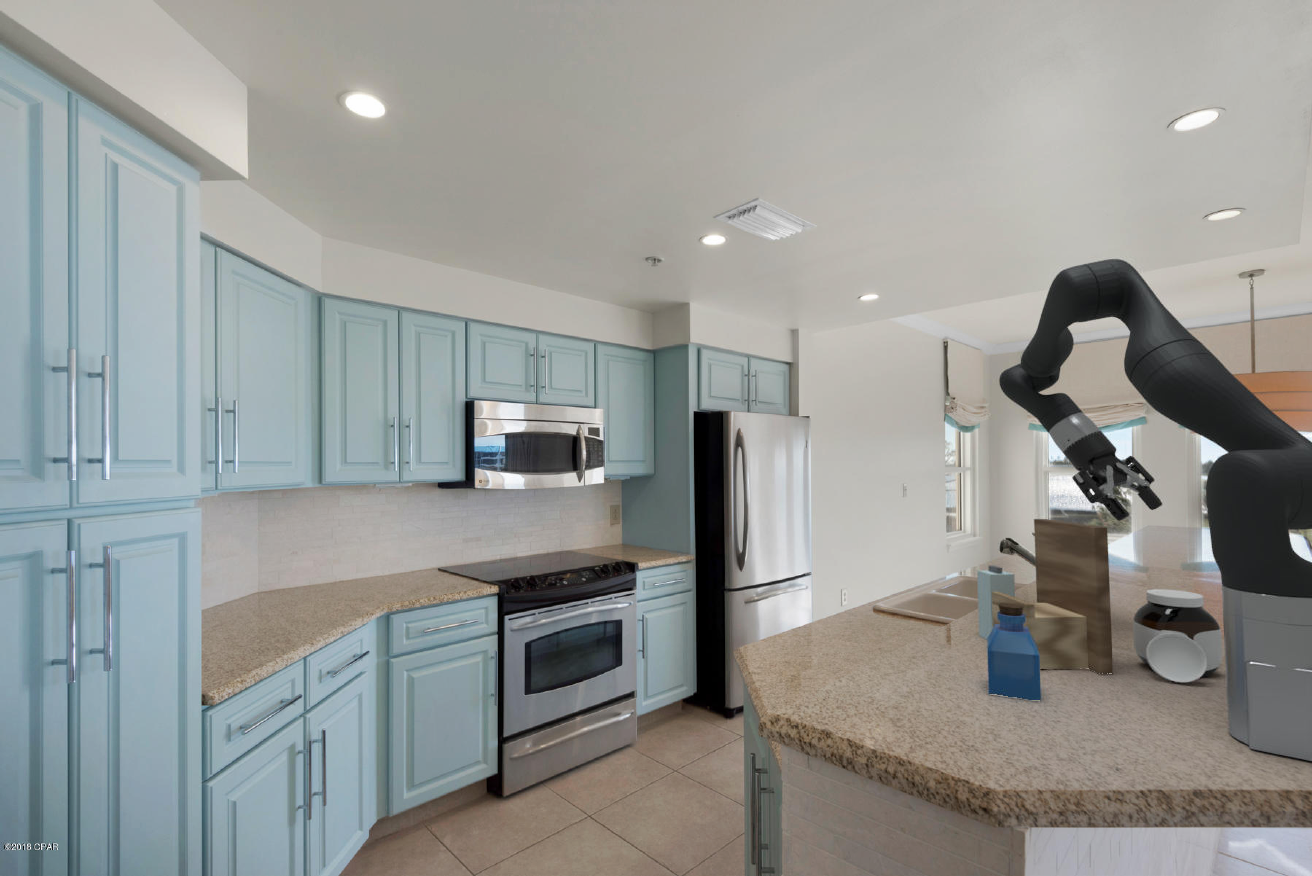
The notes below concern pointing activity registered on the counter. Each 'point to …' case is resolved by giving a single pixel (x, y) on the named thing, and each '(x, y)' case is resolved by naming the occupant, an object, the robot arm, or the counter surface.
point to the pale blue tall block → (986, 585)
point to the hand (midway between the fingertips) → (1141, 512)
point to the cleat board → (1069, 597)
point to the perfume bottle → (1013, 656)
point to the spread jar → (1177, 636)
